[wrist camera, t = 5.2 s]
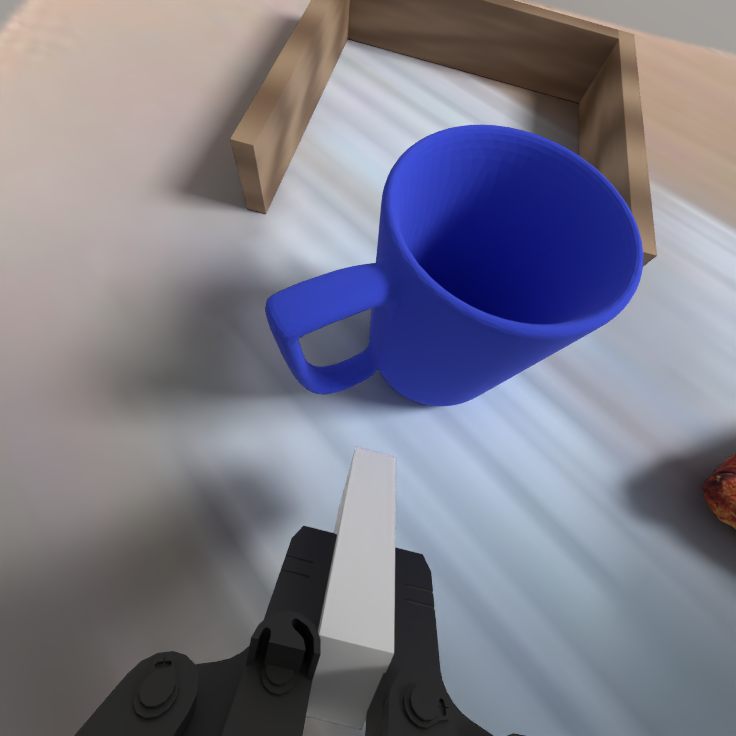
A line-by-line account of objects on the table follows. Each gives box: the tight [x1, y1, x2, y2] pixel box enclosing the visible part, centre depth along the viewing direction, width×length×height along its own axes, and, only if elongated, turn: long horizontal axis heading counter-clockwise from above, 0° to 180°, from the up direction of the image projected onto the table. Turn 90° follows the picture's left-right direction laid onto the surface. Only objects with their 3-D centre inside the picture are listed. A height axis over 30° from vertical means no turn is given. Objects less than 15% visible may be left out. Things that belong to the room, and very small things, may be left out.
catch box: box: [230, 0, 657, 266], centre depth 25 cm, size 21×22×4 cm
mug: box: [265, 125, 643, 406], centre depth 15 cm, size 8×12×10 cm
